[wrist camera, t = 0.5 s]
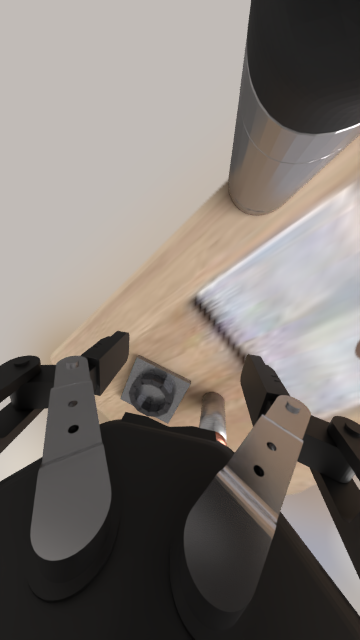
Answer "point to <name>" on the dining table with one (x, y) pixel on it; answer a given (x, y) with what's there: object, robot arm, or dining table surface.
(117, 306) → the dining table surface
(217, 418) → the ball
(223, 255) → the dining table surface
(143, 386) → the collar plate
